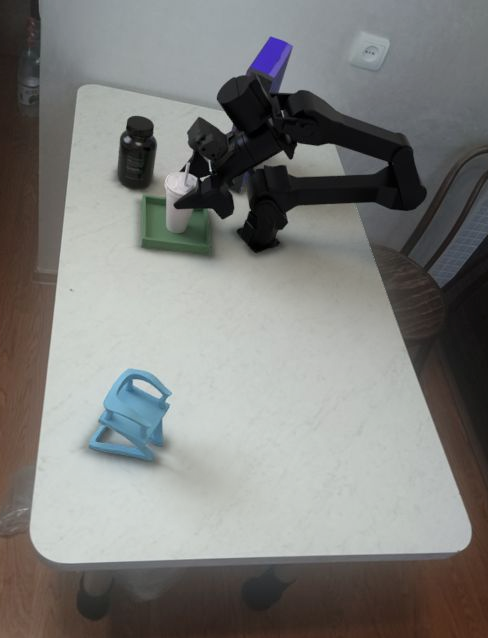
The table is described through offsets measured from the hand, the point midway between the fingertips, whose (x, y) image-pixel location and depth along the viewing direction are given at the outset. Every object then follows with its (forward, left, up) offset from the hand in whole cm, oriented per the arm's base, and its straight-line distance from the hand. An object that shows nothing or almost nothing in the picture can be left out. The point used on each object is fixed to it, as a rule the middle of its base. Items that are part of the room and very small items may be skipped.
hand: (174, 194), depth 94 cm
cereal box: (-25, -11, -8) cm, 29 cm away
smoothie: (-1, +1, -7) cm, 7 cm away
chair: (+27, +35, -8) cm, 45 cm away
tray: (-1, +1, -7) cm, 8 cm away
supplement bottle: (-1, -14, -8) cm, 16 cm away
